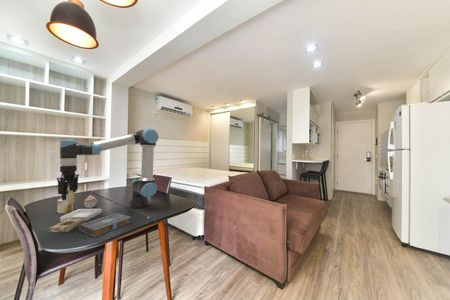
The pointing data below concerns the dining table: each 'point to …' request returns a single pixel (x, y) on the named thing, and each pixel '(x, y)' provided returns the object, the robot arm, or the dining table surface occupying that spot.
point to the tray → (82, 214)
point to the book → (104, 224)
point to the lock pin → (69, 202)
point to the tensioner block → (66, 225)
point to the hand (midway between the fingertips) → (68, 203)
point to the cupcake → (90, 202)
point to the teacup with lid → (60, 206)
